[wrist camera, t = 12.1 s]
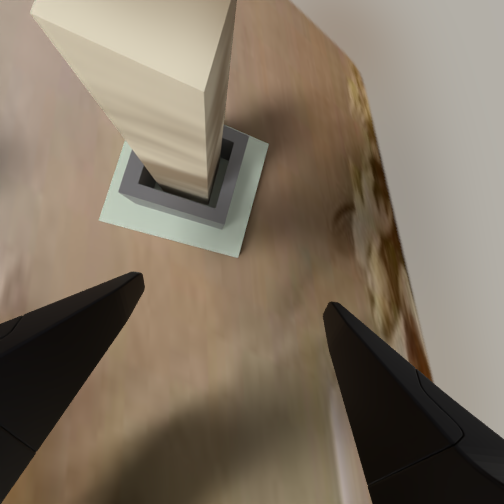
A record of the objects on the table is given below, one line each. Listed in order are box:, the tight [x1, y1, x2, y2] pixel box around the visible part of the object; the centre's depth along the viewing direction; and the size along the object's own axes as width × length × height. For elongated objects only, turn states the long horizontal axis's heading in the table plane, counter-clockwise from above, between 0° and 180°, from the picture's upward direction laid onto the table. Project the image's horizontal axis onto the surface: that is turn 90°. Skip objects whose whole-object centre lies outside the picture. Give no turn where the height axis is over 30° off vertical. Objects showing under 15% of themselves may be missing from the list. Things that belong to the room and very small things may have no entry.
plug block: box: [30, 0, 237, 205], centre depth 10 cm, size 4×4×12 cm
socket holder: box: [99, 125, 269, 258], centre depth 15 cm, size 12×12×4 cm
